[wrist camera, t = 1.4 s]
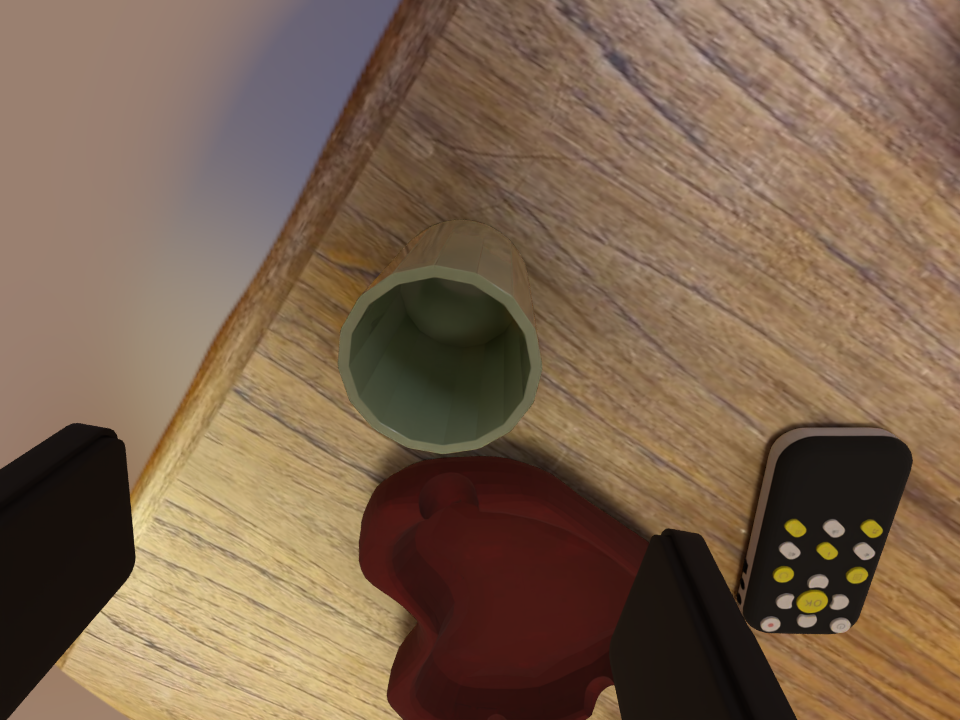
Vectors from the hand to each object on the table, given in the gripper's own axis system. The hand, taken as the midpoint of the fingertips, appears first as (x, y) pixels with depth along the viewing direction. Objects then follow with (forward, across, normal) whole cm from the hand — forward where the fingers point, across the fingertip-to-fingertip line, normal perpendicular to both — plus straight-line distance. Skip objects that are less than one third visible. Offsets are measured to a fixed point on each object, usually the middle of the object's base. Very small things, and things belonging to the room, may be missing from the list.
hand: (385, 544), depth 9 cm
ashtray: (+16, -7, +15) cm, 23 cm away
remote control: (+16, -21, +9) cm, 28 cm away
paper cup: (+16, 0, 0) cm, 16 cm away
